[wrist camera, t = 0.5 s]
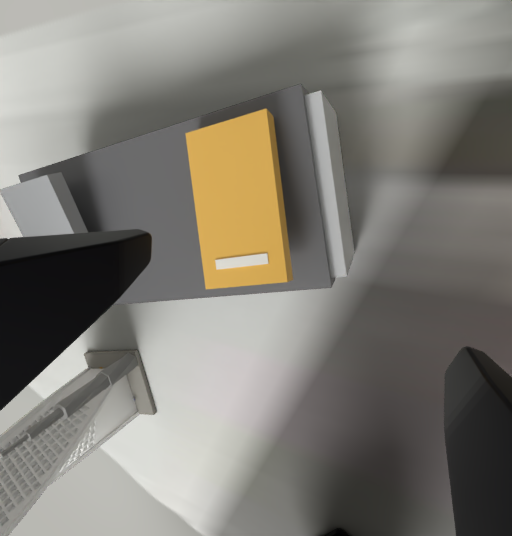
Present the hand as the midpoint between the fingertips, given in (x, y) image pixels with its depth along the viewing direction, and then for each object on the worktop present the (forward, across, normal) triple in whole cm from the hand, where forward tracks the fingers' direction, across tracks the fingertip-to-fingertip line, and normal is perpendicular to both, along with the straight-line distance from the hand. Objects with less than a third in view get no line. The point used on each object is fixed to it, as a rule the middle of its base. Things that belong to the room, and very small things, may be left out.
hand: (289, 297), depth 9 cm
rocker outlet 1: (+7, +16, +7) cm, 19 cm away
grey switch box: (+15, +10, +5) cm, 18 cm away
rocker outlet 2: (+8, +4, +1) cm, 9 cm away
